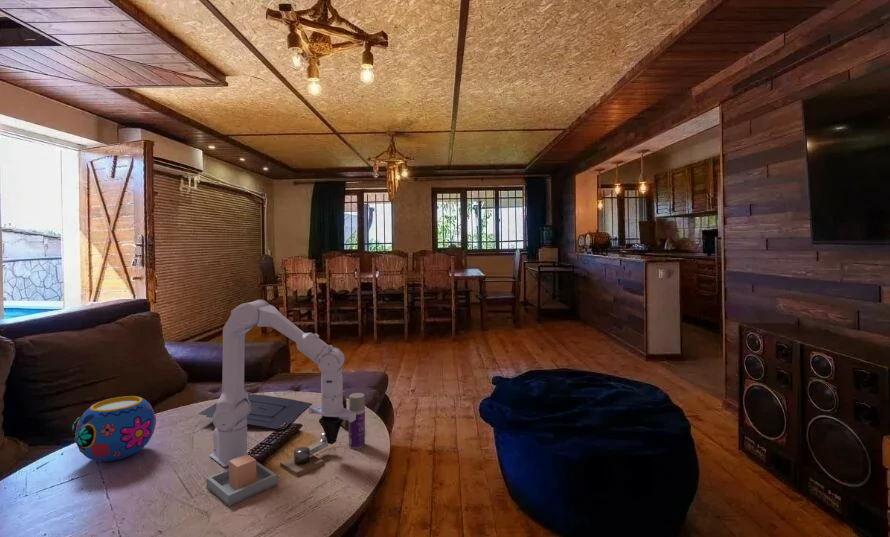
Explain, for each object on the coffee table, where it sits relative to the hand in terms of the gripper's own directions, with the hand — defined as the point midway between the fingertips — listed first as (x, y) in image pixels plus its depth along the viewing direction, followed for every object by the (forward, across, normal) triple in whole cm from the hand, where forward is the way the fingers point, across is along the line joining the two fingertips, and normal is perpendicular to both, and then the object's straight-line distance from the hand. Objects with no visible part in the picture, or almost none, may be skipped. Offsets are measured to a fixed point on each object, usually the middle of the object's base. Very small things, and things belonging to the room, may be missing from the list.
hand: (332, 442), depth 116 cm
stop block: (+4, +11, +20) cm, 23 cm away
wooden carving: (+5, +13, -21) cm, 25 cm away
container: (+5, -1, -10) cm, 11 cm away
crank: (+3, +5, +2) cm, 6 cm away
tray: (+4, +11, +20) cm, 23 cm away
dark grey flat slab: (+5, +44, -14) cm, 46 cm away
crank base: (+5, +5, +6) cm, 9 cm away
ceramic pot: (+5, +54, +24) cm, 60 cm away
